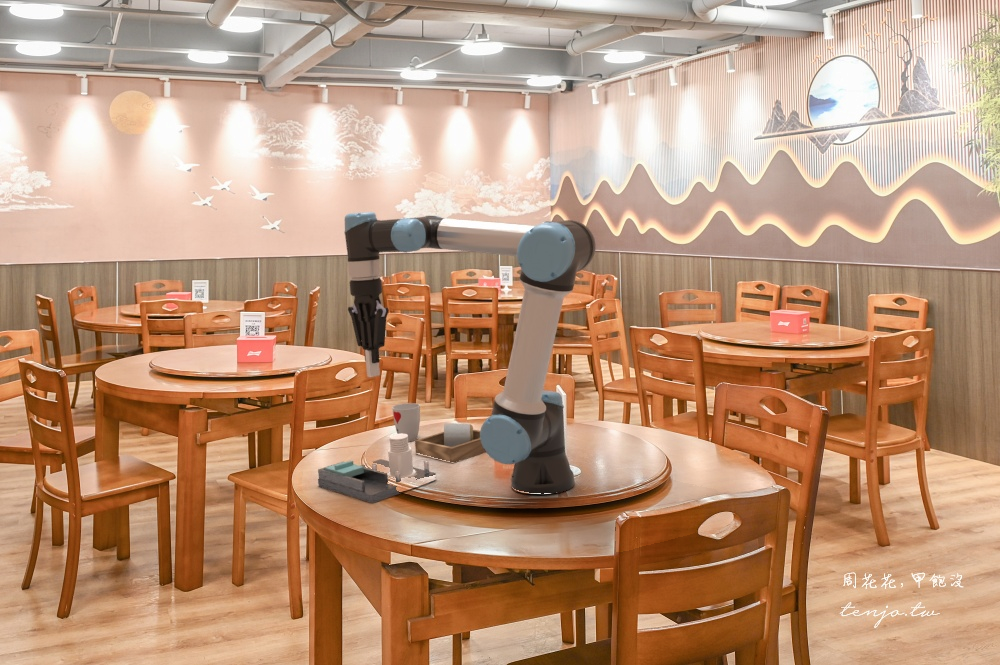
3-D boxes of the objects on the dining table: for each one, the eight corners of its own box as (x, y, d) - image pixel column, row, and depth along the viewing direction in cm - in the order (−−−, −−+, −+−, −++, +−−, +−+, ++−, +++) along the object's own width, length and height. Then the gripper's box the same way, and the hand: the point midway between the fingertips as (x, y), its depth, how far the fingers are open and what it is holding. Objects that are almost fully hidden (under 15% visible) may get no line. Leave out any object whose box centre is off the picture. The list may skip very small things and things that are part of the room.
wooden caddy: (497, 447, 251) (496, 433, 251) (452, 463, 239) (451, 448, 239) (460, 440, 262) (459, 426, 261) (415, 454, 250) (414, 440, 249)
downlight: (388, 470, 229) (385, 432, 227) (416, 468, 230) (413, 430, 228) (386, 481, 221) (383, 442, 220) (415, 479, 222) (412, 440, 220)
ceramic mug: (474, 452, 248) (472, 424, 248) (444, 454, 248) (442, 426, 247) (474, 442, 259) (472, 416, 258) (445, 444, 259) (443, 418, 258)
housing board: (436, 480, 225) (434, 461, 224) (372, 503, 211) (370, 482, 210) (381, 466, 241) (379, 448, 240) (318, 486, 227) (316, 467, 226)
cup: (392, 437, 269) (389, 405, 268) (419, 434, 271) (416, 401, 270) (397, 444, 261) (395, 410, 260) (425, 440, 264) (422, 407, 262)
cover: (364, 472, 224) (363, 462, 224) (344, 479, 220) (343, 469, 220) (345, 467, 230) (344, 457, 229) (325, 473, 226) (324, 463, 225)
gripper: (394, 277, 211) (402, 375, 215) (361, 276, 220) (369, 370, 224) (369, 280, 206) (378, 381, 210) (335, 279, 215) (344, 376, 219)
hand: (373, 375), depth 217 cm, fingers closed
